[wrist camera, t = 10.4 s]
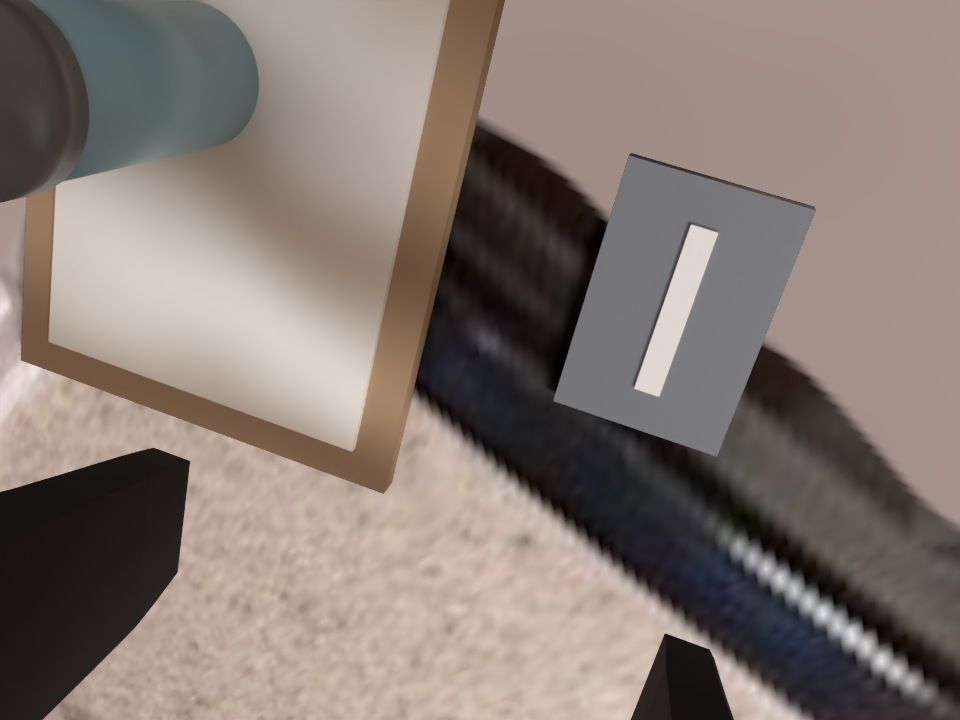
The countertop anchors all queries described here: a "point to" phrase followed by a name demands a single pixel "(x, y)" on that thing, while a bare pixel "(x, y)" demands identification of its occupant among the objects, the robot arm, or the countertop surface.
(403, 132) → the clipboard
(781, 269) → the plate
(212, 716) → the countertop surface
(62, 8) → the tumbler
